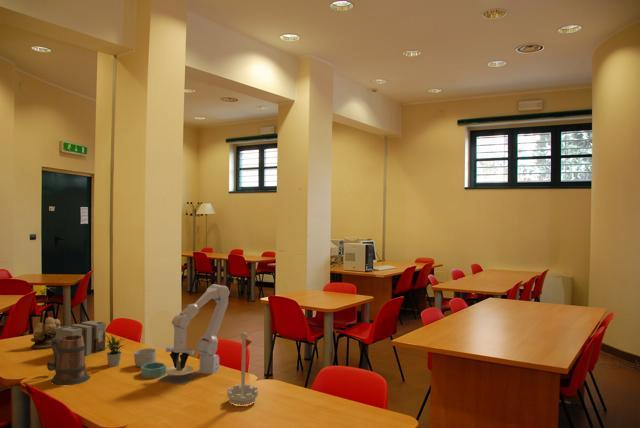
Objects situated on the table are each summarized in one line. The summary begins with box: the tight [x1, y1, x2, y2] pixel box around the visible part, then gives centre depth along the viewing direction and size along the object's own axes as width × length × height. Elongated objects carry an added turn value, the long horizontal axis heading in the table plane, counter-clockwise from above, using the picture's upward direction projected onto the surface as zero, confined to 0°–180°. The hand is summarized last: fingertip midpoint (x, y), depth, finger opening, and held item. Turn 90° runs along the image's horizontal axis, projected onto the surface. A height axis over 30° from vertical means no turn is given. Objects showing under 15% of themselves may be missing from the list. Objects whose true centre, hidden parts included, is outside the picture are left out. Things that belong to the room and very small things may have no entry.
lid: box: [165, 359, 194, 375], centre depth 238 cm, size 13×13×5 cm
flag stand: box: [226, 331, 259, 405], centre depth 212 cm, size 13×13×30 cm
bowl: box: [140, 361, 167, 379], centre depth 242 cm, size 11×11×4 cm
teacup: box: [133, 347, 157, 369], centre depth 257 cm, size 14×11×8 cm
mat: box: [156, 372, 201, 386], centre depth 238 cm, size 15×15×1 cm
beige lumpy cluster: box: [30, 316, 62, 351], centre depth 287 cm, size 18×12×17 cm, turn 145°
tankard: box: [46, 335, 91, 386], centre depth 234 cm, size 24×17×20 cm
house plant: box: [99, 334, 128, 367], centre depth 256 cm, size 14×14×16 cm
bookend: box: [56, 320, 107, 357], centre depth 275 cm, size 16×25×16 cm, turn 156°
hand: (179, 367), depth 238 cm, fingers closed on lid, 3 cm apart
